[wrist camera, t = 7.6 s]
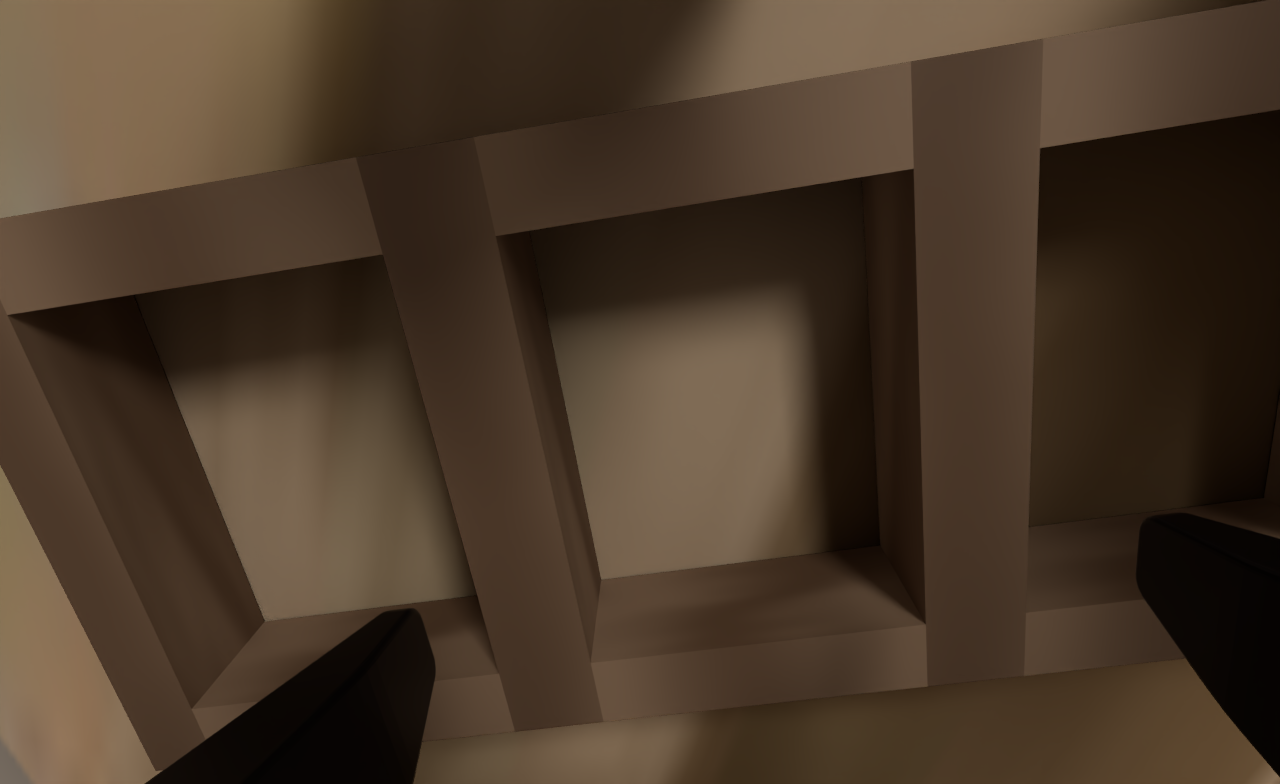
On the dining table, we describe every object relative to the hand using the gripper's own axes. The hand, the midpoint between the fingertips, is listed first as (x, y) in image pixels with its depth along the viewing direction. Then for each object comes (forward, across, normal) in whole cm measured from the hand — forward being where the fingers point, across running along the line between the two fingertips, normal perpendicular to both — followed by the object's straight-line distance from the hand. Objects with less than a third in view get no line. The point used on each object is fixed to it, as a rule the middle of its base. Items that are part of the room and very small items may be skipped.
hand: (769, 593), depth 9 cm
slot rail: (+8, 0, 0) cm, 8 cm away
